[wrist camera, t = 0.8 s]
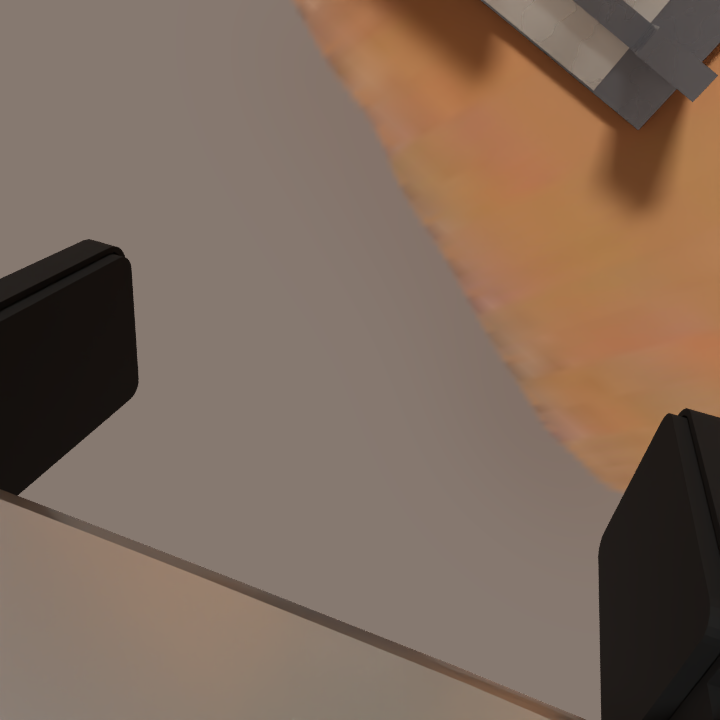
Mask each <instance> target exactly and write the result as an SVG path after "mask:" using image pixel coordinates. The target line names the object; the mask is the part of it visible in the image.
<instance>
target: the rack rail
mask: <svg viewBox="0 0 720 720" xmlns="http://www.w3.org/2000/svg"><path fill="white" fill-rule="evenodd" d="M481 1H482V2H483V3H484V4H486V5H487V6H488V7H489V8H491V9H492V10H493V11H494V12H495V13H497V14H498V15H499V16H500V17H501V18H503V19H504V20H505V21H506V22H508V23H509V24H510V25H511V26H512V27H514V28H515V29H516V30H517V31H518V32H520V33H521V34H522V35H523V36H525V37H526V38H527V39H528V40H529V41H531V42H532V43H533V44H534V45H535V46H537V47H538V48H539V49H540V50H542V51H543V52H544V53H545V54H546V55H548V56H549V57H550V58H551V59H552V60H554V61H555V62H556V63H557V64H559V65H560V66H561V67H562V68H563V69H565V70H566V71H567V72H568V73H569V74H571V75H572V76H573V77H574V78H576V79H577V80H578V81H579V82H580V83H582V84H583V85H584V86H585V87H586V88H588V89H589V90H590V91H591V92H593V93H594V94H595V95H596V96H597V97H599V98H600V99H601V100H602V101H603V102H605V103H606V104H607V105H608V106H609V107H611V108H612V109H613V110H614V111H616V112H617V113H618V114H619V115H620V116H622V117H623V118H624V119H625V120H626V121H628V122H629V123H630V124H631V125H633V126H634V127H635V128H636V129H637V130H639V129H640V128H641V127H642V126H643V125H644V124H645V123H646V122H647V120H648V119H649V118H650V117H651V116H652V115H653V114H654V113H655V112H656V111H657V110H658V109H659V108H660V106H661V105H662V104H663V103H664V102H665V101H666V100H667V99H668V98H669V97H670V96H671V95H672V94H673V92H674V91H675V90H676V89H678V90H679V91H680V92H681V93H682V94H684V95H685V96H686V97H687V98H688V99H690V100H691V101H692V102H693V101H694V100H695V99H696V98H697V97H698V96H699V95H700V94H701V93H702V92H703V91H704V90H705V89H706V88H707V87H708V86H709V84H710V83H711V82H712V81H713V80H714V79H715V78H716V77H717V76H718V75H717V74H716V73H714V72H713V71H712V70H711V69H710V68H708V67H707V66H706V65H705V64H704V63H702V61H703V60H704V59H705V58H706V57H707V56H708V55H709V54H710V53H711V52H712V51H713V49H714V48H715V47H716V46H717V45H718V44H719V43H720V0H481Z"/></svg>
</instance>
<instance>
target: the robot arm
mask: <svg viewBox="0 0 720 720" xmlns="http://www.w3.org/2000/svg"><path fill="white" fill-rule="evenodd" d="M137 387H138V364H137V348H136V332H135V317H134V301H133V286H132V271H131V264H130V262H129V260H128V259H127V258H125V255H124V253H123V252H122V250H121V249H120V248H118V247H115V246H111V245H108V244H104V243H101V242H98V241H94V240H90V239H88V240H83V241H81V242H79V243H77V244H75V245H73V246H71V247H68V248H66V249H64V250H62V251H60V252H58V253H55V254H53V255H51V256H49V257H47V258H44V259H42V260H40V261H38V262H36V263H34V264H31V265H29V266H27V267H25V268H23V269H21V270H18V271H16V272H14V273H12V274H10V275H8V276H5V277H3V278H1V279H0V720H585V719H583V718H581V717H578V716H576V715H573V714H571V713H568V712H566V711H563V710H561V709H559V708H556V707H554V706H551V705H549V704H546V703H544V702H542V701H539V700H537V699H534V698H532V697H529V696H527V695H525V694H522V693H520V692H517V691H515V690H512V689H510V688H508V687H505V686H503V685H500V684H498V683H495V682H493V681H491V680H488V679H486V678H483V677H481V676H478V675H476V674H473V673H471V672H469V671H466V670H464V669H461V668H459V667H456V666H454V665H451V664H449V663H446V662H444V661H441V660H439V659H436V658H434V657H431V656H429V655H426V654H424V653H421V652H418V651H416V650H413V649H411V648H408V647H406V646H403V645H401V644H398V643H396V642H393V641H390V640H388V639H385V638H383V637H380V636H378V635H375V634H373V633H370V632H368V631H365V630H363V629H360V628H357V627H355V626H352V625H349V624H347V623H345V622H342V621H340V620H337V619H335V618H332V617H329V616H327V615H324V614H322V613H319V612H317V611H314V610H311V609H309V608H307V607H304V606H301V605H299V604H296V603H294V602H291V601H289V600H286V599H284V598H281V597H279V596H276V595H273V594H271V593H268V592H266V591H263V590H261V589H258V588H255V587H253V586H250V585H248V584H245V583H243V582H240V581H237V580H235V579H232V578H229V577H227V576H225V575H222V574H219V573H217V572H214V571H212V570H209V569H206V568H204V567H201V566H199V565H196V564H193V563H191V562H188V561H186V560H183V559H181V558H178V557H175V556H173V555H170V554H168V553H165V552H163V551H160V550H157V549H155V548H152V547H150V546H147V545H144V544H142V543H139V542H137V541H134V540H131V539H129V538H126V537H124V536H121V535H119V534H116V533H113V532H111V531H108V530H105V529H103V528H100V527H98V526H95V525H92V524H90V523H87V522H85V521H82V520H80V519H77V518H74V517H72V516H69V515H66V514H64V513H61V512H59V511H56V510H53V509H51V508H48V507H45V506H43V505H40V504H38V503H35V502H32V501H30V500H27V499H24V498H22V497H19V496H17V495H19V494H20V493H21V492H22V491H23V490H24V489H25V488H27V487H28V486H29V485H30V484H31V483H33V482H34V481H35V480H36V479H37V478H39V477H40V476H41V475H42V474H43V473H44V472H46V471H47V470H48V469H49V468H50V467H51V466H53V464H55V463H56V462H57V461H58V460H60V459H61V458H62V457H63V456H64V455H65V454H66V453H68V452H69V451H70V450H71V449H72V448H74V447H75V446H76V445H77V444H78V443H79V442H81V441H82V440H83V439H84V438H85V437H87V436H88V435H89V434H90V433H91V432H92V431H93V430H95V429H96V428H97V427H98V426H99V425H101V424H102V423H103V422H104V421H105V420H106V419H108V418H109V417H110V416H111V415H112V414H113V413H115V412H116V411H117V410H118V409H119V408H120V407H121V406H123V405H124V404H125V403H126V402H127V401H129V400H130V399H131V397H133V395H134V394H135V392H136V389H137ZM598 561H599V562H598V563H599V613H600V614H599V616H600V617H599V618H600V668H601V669H600V671H601V720H720V418H719V417H715V416H712V415H708V414H705V413H701V412H698V411H694V410H691V409H687V408H686V409H684V410H682V411H681V412H680V413H679V415H678V416H677V415H674V414H670V413H669V414H667V415H666V416H665V417H664V418H663V420H662V422H661V424H660V426H659V427H658V429H657V431H656V433H655V435H654V437H653V439H652V441H651V443H650V445H649V447H648V449H647V451H646V453H645V454H644V456H643V458H642V460H641V462H640V464H639V466H638V468H637V470H636V472H635V474H634V476H633V478H632V480H631V482H630V483H629V485H628V487H627V489H626V491H625V493H624V495H623V497H622V499H621V501H620V503H619V505H618V507H617V509H616V511H615V512H614V514H613V516H612V518H611V520H610V522H609V524H608V526H607V528H606V530H605V532H604V534H603V536H602V540H601V543H600V547H599V555H598Z"/></svg>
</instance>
